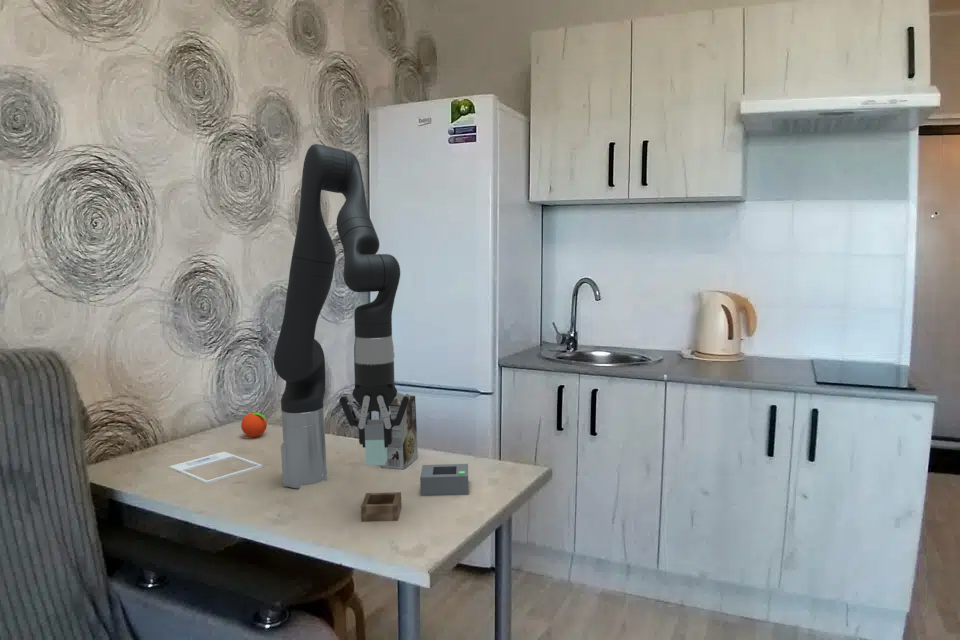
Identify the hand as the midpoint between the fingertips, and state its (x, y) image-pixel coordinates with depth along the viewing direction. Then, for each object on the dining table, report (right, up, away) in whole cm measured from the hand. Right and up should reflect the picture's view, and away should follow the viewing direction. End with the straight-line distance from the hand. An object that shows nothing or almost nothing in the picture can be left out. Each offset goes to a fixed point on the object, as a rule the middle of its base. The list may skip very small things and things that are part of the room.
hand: (376, 446), depth 135 cm
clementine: (-43, -9, +61) cm, 75 cm away
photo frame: (-45, -12, +35) cm, 58 cm away
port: (+13, -13, +15) cm, 24 cm away
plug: (0, -3, 0) cm, 3 cm away
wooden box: (+1, -15, +2) cm, 15 cm away
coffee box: (0, -11, +36) cm, 38 cm away
